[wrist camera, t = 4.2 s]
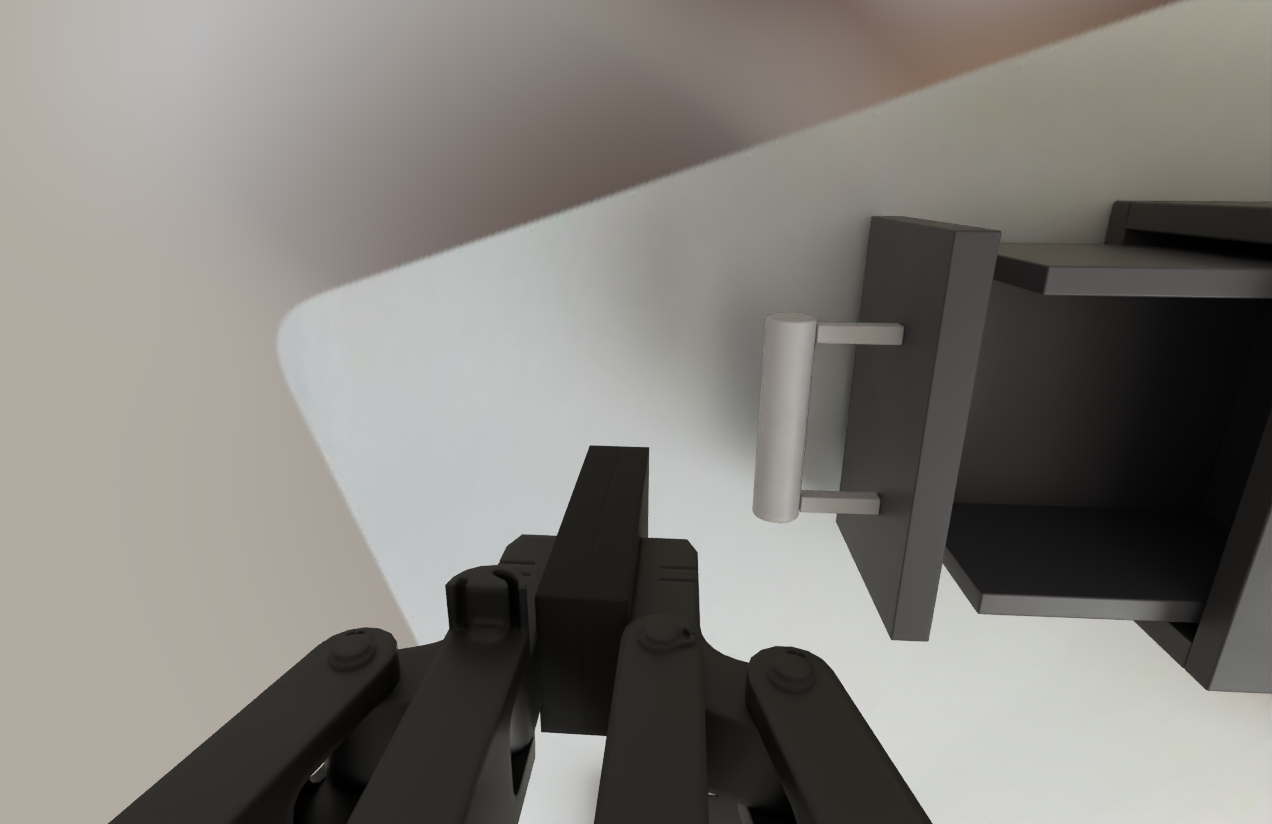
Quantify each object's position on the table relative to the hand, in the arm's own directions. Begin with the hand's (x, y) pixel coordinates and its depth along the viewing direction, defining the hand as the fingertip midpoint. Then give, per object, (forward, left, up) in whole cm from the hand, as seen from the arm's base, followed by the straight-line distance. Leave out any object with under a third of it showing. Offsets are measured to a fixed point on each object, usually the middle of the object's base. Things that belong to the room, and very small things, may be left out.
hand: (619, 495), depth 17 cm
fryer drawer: (+10, +9, -11) cm, 18 cm away
